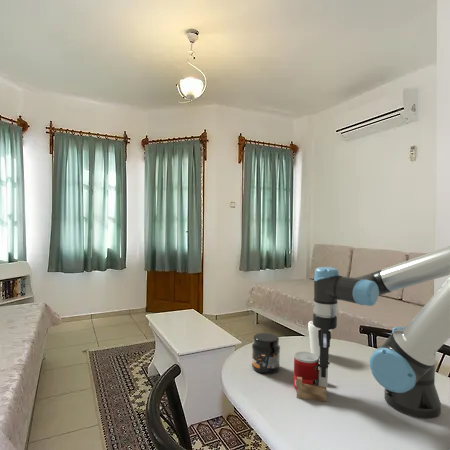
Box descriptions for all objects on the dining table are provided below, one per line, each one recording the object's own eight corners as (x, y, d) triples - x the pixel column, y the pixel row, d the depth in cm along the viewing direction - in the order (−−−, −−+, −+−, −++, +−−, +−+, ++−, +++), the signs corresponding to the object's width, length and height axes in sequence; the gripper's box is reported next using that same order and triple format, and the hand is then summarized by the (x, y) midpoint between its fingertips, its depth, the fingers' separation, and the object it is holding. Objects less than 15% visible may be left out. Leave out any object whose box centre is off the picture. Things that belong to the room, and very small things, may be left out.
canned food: (318, 396, 105) (319, 362, 104) (293, 392, 106) (293, 359, 106) (317, 384, 112) (318, 352, 112) (293, 381, 114) (294, 350, 114)
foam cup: (303, 351, 140) (304, 321, 139) (322, 349, 142) (322, 319, 142) (316, 361, 131) (316, 328, 130) (335, 358, 133) (336, 326, 133)
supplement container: (248, 363, 128) (248, 333, 127) (273, 361, 130) (273, 331, 130) (256, 376, 117) (257, 343, 117) (284, 373, 120) (284, 341, 120)
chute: (324, 381, 114) (325, 364, 114) (326, 401, 101) (326, 382, 101) (298, 378, 116) (298, 361, 116) (296, 397, 104) (297, 378, 104)
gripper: (313, 308, 115) (311, 374, 115) (313, 319, 102) (311, 393, 103) (335, 310, 113) (333, 377, 113) (338, 321, 100) (336, 397, 101)
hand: (323, 384), depth 108 cm, fingers closed
